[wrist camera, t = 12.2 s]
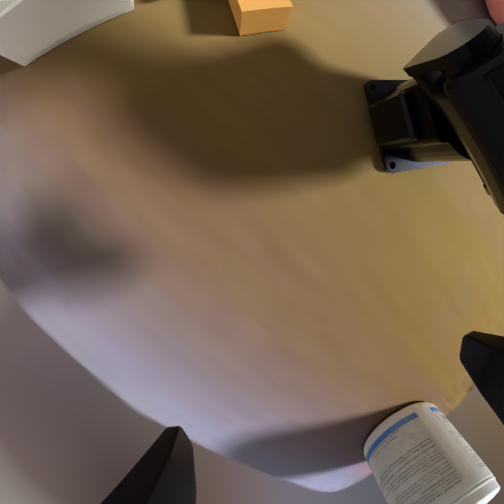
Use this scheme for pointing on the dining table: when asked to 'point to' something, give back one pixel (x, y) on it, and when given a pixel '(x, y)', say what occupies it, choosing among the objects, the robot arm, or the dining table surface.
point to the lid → (260, 15)
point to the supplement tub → (426, 460)
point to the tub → (50, 23)
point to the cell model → (496, 10)
